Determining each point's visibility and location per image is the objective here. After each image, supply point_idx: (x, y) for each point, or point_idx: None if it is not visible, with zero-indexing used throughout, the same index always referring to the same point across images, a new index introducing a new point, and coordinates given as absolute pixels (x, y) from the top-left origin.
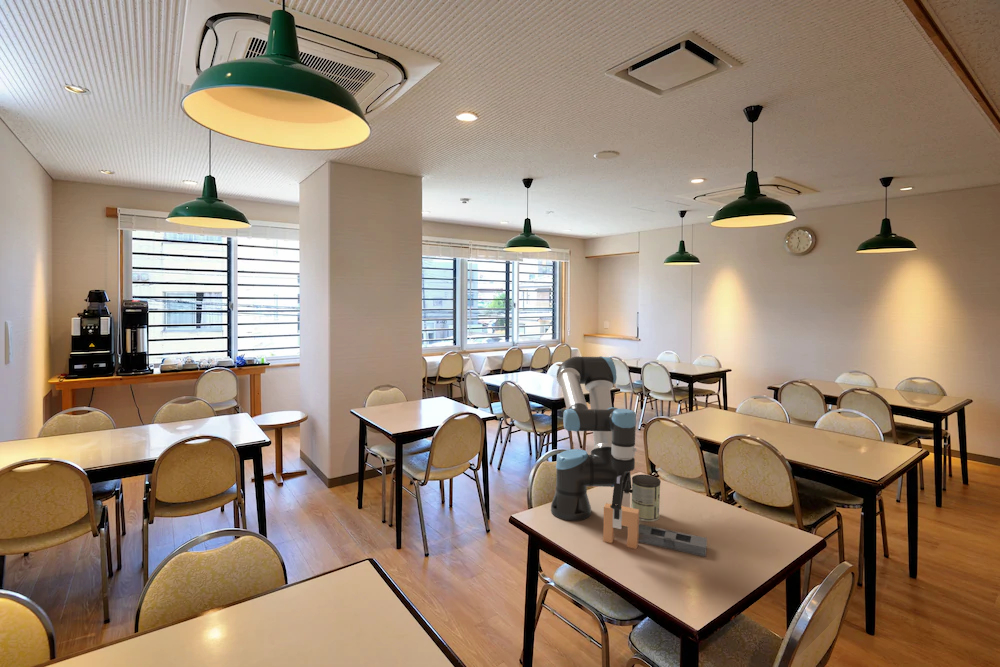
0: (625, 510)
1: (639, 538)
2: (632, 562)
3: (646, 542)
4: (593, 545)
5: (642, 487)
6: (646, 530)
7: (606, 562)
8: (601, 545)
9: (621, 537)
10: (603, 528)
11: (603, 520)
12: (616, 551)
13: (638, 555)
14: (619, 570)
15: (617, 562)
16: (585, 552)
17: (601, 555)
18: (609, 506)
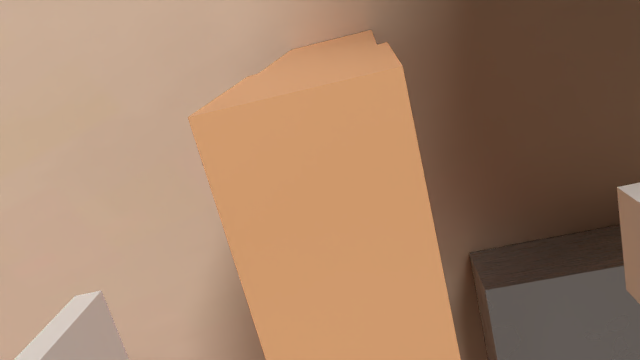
0: None
1: (482, 301)
2: (168, 345)
3: (485, 339)
4: (168, 16)
5: None
6: (589, 352)
7: (33, 216)
8: (218, 72)
9: (464, 144)
10: (274, 62)
11: (243, 79)
12: None
13: None
14: (21, 318)
15: (93, 272)
16: (23, 22)
17: (84, 145)
18: (285, 194)
